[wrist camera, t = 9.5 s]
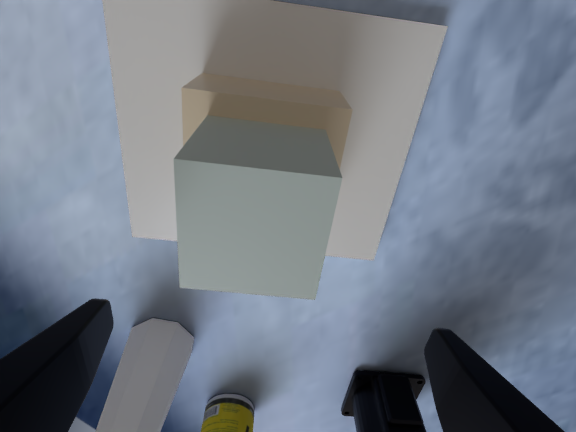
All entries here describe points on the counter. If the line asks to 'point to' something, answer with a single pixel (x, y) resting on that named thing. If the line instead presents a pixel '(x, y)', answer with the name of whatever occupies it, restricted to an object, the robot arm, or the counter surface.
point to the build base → (280, 55)
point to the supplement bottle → (228, 414)
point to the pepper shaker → (147, 377)
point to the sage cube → (254, 207)
